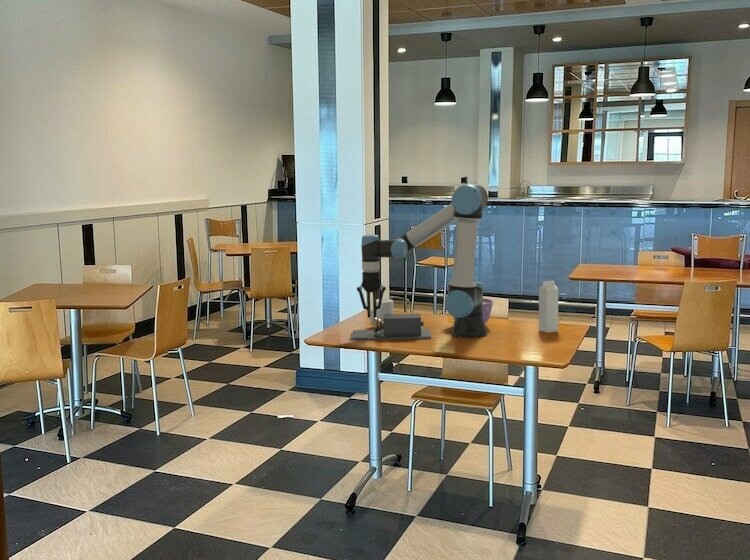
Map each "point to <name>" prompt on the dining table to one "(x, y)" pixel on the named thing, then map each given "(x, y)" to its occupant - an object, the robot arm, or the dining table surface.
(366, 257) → the robot arm
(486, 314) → the bowl of food
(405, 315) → the bearing block
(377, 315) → the candle holder
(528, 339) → the dining table surface
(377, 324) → the shaft
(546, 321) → the milk
